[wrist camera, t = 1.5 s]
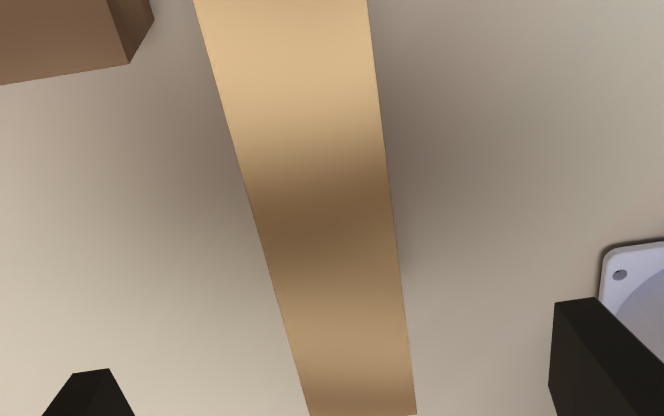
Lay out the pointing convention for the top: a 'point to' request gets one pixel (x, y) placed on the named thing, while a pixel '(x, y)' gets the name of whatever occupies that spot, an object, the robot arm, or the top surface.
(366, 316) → the rail
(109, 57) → the stepped wooden block
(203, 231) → the top surface
